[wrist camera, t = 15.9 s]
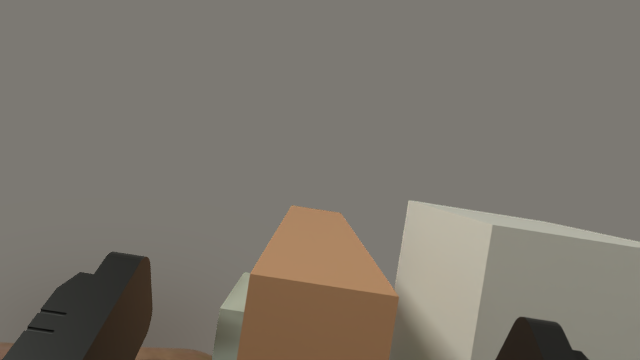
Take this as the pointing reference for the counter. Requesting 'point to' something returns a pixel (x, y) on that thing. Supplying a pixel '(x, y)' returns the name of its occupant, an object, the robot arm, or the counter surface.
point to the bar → (317, 295)
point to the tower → (231, 322)
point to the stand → (510, 285)
